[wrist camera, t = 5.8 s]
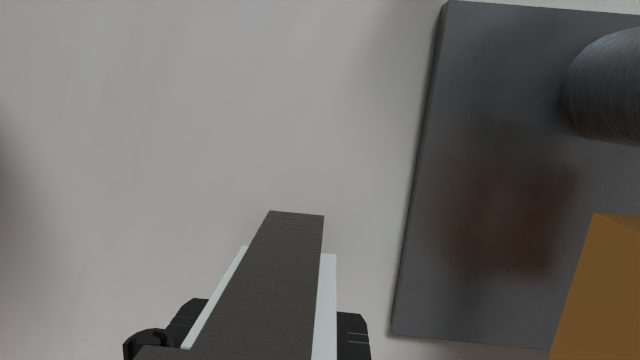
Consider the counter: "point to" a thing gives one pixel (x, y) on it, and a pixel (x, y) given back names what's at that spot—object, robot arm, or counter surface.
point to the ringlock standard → (516, 168)
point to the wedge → (263, 298)
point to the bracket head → (603, 295)
